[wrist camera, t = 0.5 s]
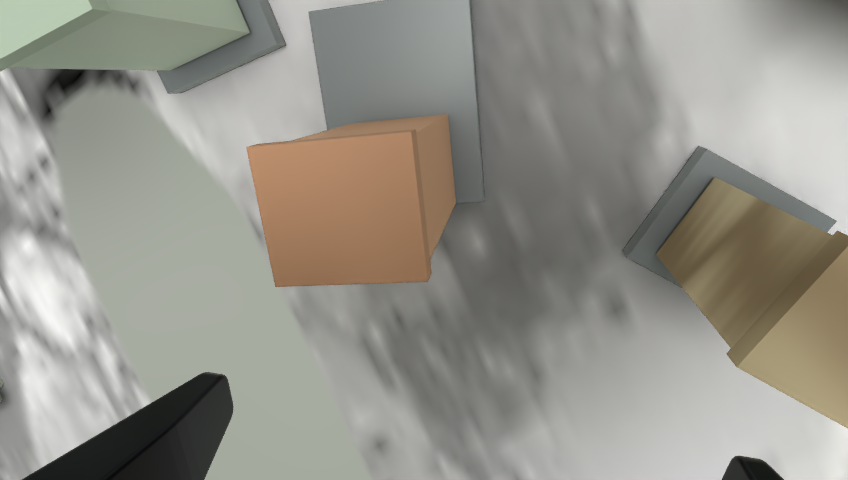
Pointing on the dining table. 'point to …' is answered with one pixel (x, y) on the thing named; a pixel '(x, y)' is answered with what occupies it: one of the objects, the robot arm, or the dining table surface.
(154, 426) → the robot arm
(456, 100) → the terracotta key base
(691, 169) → the oak key base
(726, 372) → the dining table surface
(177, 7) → the sage key
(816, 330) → the oak key
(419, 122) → the orange rectangular block
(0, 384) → the egg carton
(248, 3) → the sage key base
